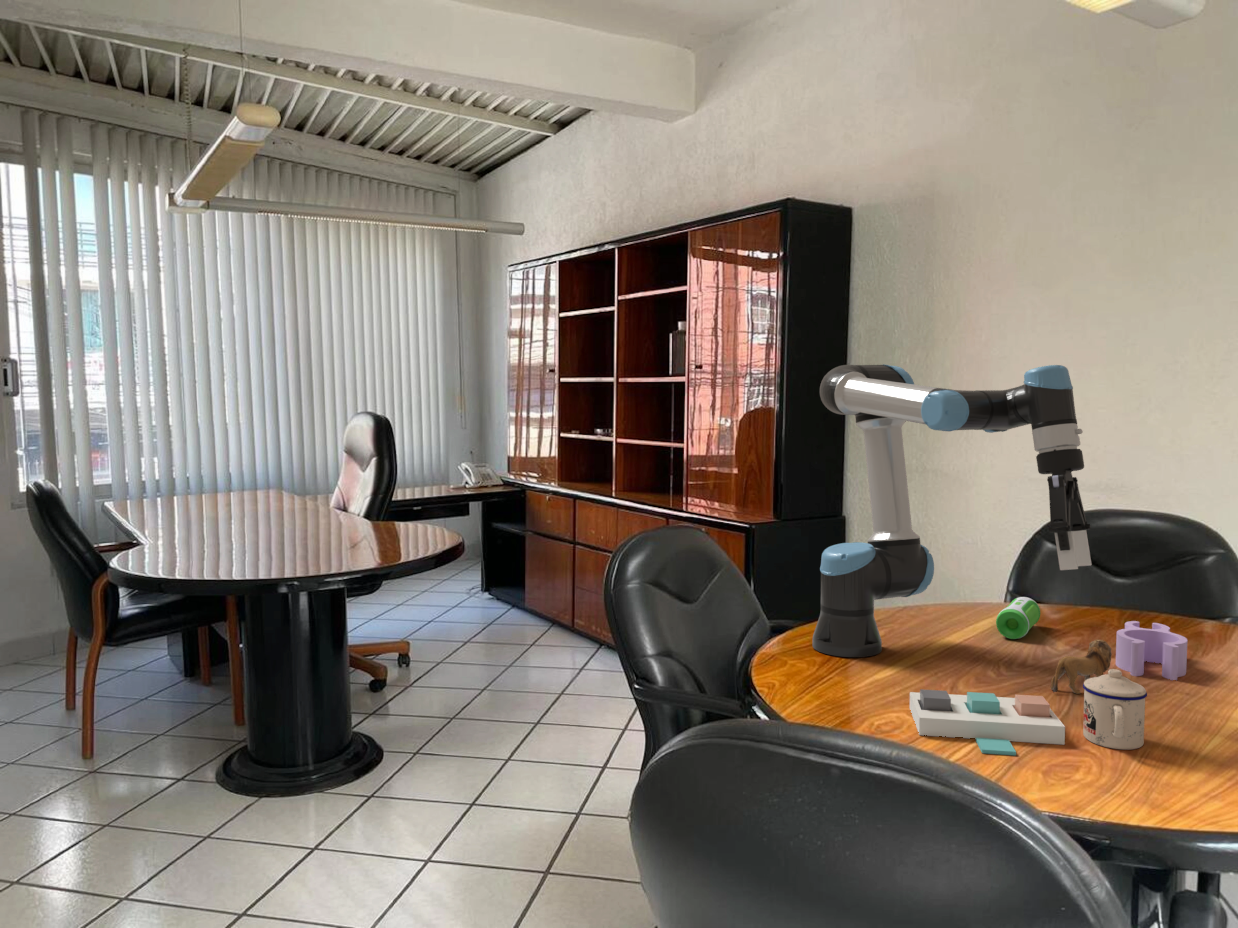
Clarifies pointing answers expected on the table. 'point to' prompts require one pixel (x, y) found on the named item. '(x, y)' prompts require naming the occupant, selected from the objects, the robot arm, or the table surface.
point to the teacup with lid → (1114, 711)
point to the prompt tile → (995, 746)
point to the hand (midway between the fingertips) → (1076, 567)
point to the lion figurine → (1083, 665)
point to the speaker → (1018, 618)
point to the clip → (1151, 649)
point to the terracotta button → (1032, 706)
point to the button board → (986, 722)
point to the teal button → (983, 703)
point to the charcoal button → (935, 700)
